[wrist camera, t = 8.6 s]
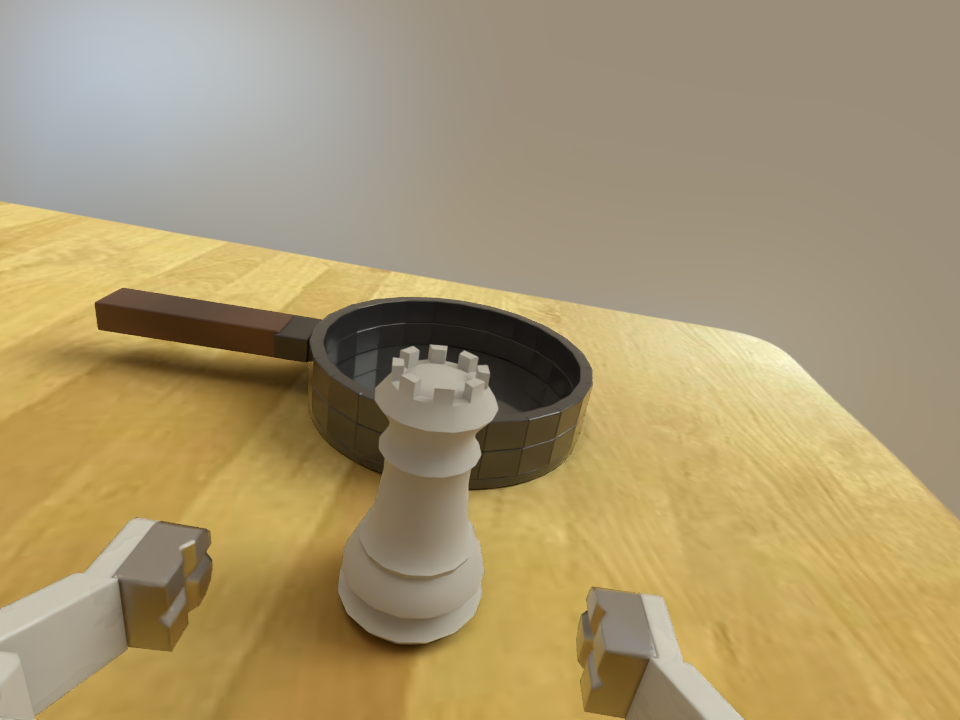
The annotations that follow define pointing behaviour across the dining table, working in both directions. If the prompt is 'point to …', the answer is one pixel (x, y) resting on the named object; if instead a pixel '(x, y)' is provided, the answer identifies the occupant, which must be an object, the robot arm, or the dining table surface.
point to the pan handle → (206, 324)
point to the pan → (461, 326)
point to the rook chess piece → (421, 503)
